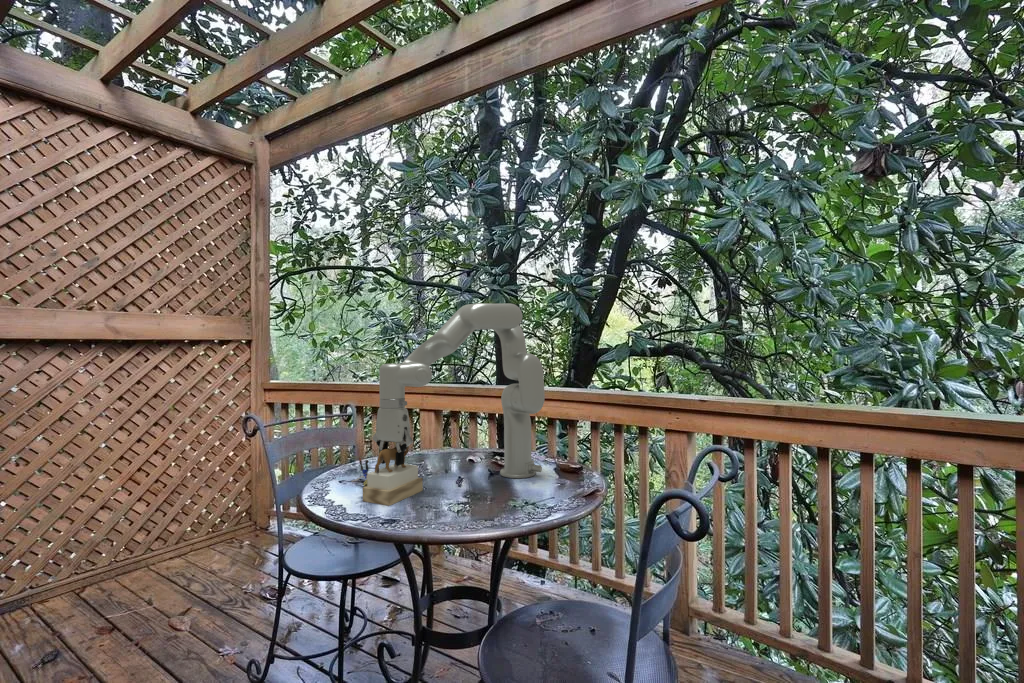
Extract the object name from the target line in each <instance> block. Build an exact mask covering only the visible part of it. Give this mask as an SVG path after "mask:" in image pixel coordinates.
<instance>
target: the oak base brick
mask: <svg viewBox="0 0 1024 683" xmlns="http://www.w3.org/2000/svg"><path fill="white" fill-rule="evenodd" d="M423 483H424V482H423V477H419V476H418V479H415V480H413V481H411V482H408V483H406V484H403V485H401V486H398V487H396V488H394V489H391V490H383V489H376V488H369V487H368V486H364V487H362V502H366V503H372V504H378V505H384V506H388V507H389V506H392V505H394V504H397V503H399V502H401V501H403V500H405V499H408V498H410V497H412V496H414V495H417V494H419V493H421V492H423V489H424V488H423Z"/></svg>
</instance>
